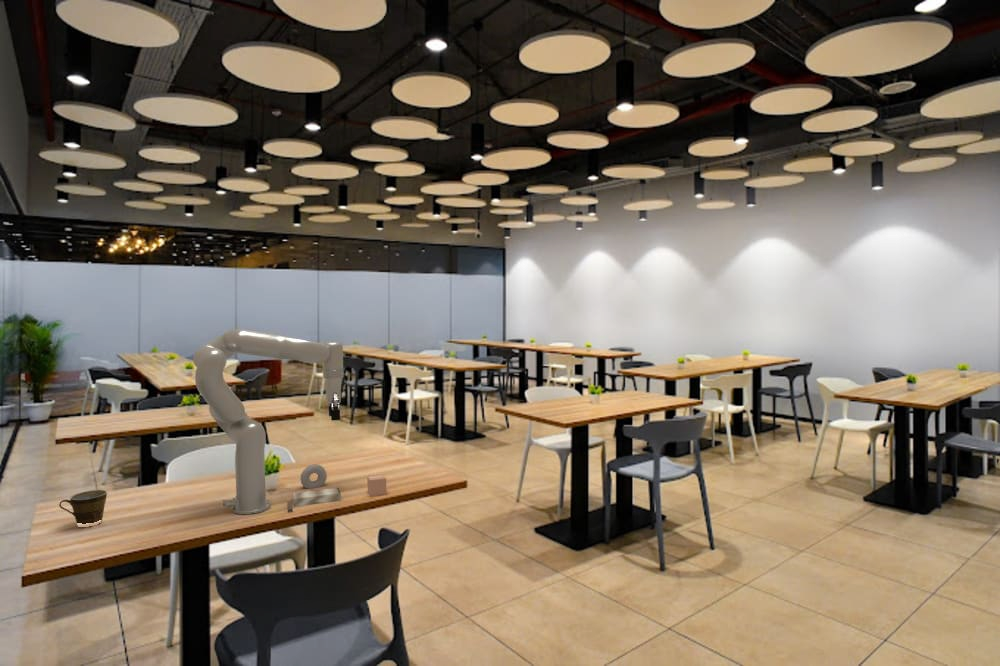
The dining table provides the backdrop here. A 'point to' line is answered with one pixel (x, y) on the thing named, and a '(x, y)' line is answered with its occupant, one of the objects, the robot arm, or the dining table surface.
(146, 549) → the dining table surface
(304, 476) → the donut
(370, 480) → the taped shipping carton
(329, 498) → the board
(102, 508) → the ceramic cup
